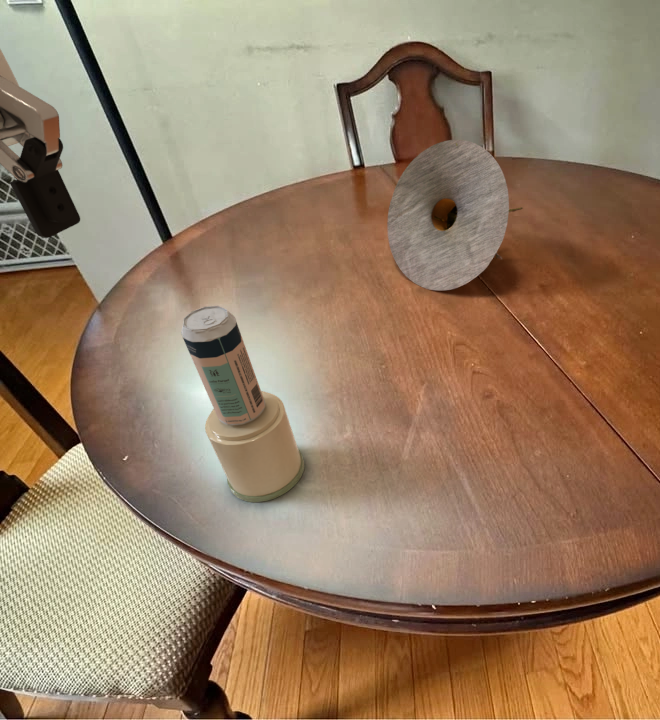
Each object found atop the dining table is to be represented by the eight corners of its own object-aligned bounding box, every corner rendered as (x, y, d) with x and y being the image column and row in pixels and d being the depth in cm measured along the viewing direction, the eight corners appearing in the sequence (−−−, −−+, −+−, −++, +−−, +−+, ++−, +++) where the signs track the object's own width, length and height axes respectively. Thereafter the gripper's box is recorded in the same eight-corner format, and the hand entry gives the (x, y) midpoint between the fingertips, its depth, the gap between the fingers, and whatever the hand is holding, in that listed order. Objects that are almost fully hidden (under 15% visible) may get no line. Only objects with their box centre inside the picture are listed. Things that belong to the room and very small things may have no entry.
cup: (231, 512, 60) (202, 452, 54) (226, 458, 66) (199, 398, 60) (310, 487, 62) (290, 426, 56) (298, 437, 68) (279, 378, 62)
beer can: (256, 390, 61) (222, 297, 53) (274, 413, 58) (241, 318, 50) (212, 410, 58) (170, 316, 51) (228, 435, 56) (187, 339, 48)
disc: (523, 323, 99) (569, 191, 98) (467, 297, 84) (521, 142, 84) (423, 293, 113) (463, 178, 113) (361, 267, 99) (406, 134, 98)
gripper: (-352, -70, 30) (-134, 230, 40) (-112, -71, 26) (59, 259, 36) (-186, -70, 35) (-33, 192, 46) (30, -71, 32) (142, 215, 42)
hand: (7, 222), depth 41 cm, fingers open, 9 cm apart
